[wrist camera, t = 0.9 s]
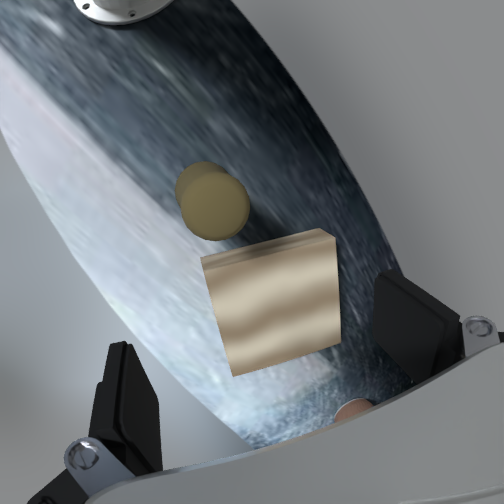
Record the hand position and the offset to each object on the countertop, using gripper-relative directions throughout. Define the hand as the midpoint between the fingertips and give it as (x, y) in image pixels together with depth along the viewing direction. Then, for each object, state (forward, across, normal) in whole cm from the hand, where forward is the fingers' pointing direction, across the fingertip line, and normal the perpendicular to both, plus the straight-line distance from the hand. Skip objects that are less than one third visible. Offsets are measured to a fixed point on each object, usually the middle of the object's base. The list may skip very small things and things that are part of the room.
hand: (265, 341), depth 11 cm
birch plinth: (+23, -6, +12) cm, 27 cm away
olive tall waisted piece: (+24, -1, -2) cm, 24 cm away
